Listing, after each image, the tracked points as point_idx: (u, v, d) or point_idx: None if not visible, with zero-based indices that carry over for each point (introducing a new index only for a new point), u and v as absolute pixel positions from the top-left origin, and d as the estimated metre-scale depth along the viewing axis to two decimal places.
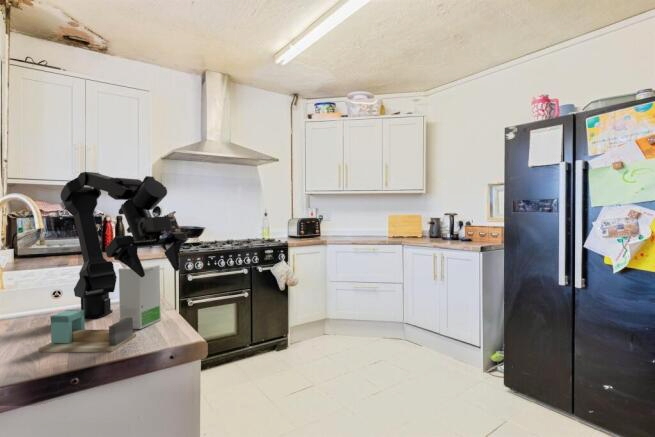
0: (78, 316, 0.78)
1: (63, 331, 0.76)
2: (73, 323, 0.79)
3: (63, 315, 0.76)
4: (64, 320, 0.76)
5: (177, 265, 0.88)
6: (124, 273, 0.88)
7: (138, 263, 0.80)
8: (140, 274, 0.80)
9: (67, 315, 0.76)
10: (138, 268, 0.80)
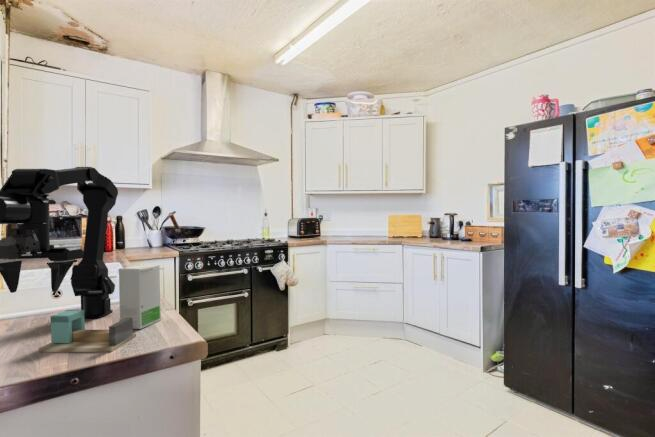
0: (78, 316, 0.78)
1: (63, 331, 0.76)
2: (73, 323, 0.79)
3: (63, 315, 0.76)
4: (64, 320, 0.76)
5: (52, 287, 0.77)
6: (124, 273, 0.88)
7: (5, 280, 0.76)
8: None
9: (67, 315, 0.76)
10: None
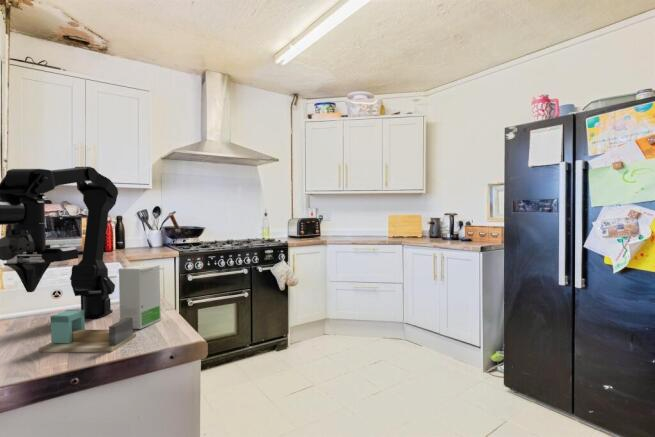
0: (78, 316, 0.78)
1: (63, 331, 0.76)
2: (73, 323, 0.79)
3: (63, 315, 0.76)
4: (64, 320, 0.76)
5: (28, 287, 0.77)
6: (124, 273, 0.88)
7: (22, 279, 0.77)
8: None
9: (67, 315, 0.76)
10: None
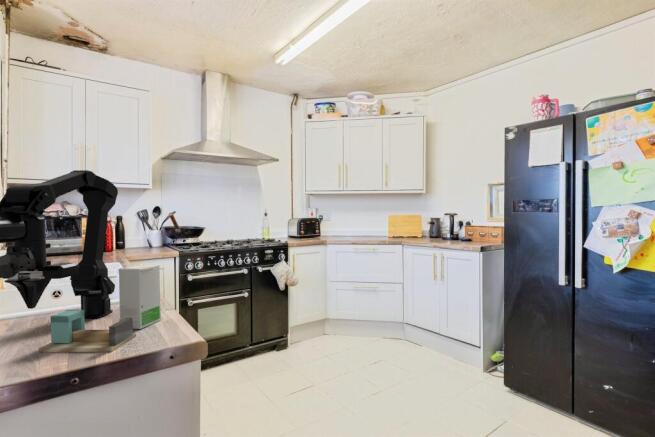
0: (78, 316, 0.78)
1: (63, 331, 0.76)
2: (73, 323, 0.79)
3: (63, 315, 0.76)
4: (64, 320, 0.76)
5: (29, 304, 0.77)
6: (124, 273, 0.88)
7: (23, 296, 0.77)
8: None
9: (67, 315, 0.76)
10: None
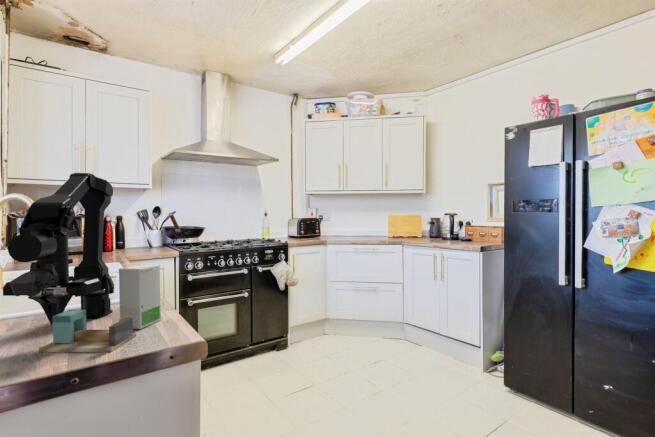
0: (80, 316, 0.78)
1: (65, 331, 0.76)
2: (75, 323, 0.79)
3: (65, 315, 0.76)
4: (66, 320, 0.75)
5: (52, 320, 0.77)
6: (124, 273, 0.88)
7: (46, 312, 0.77)
8: None
9: (69, 315, 0.76)
10: None
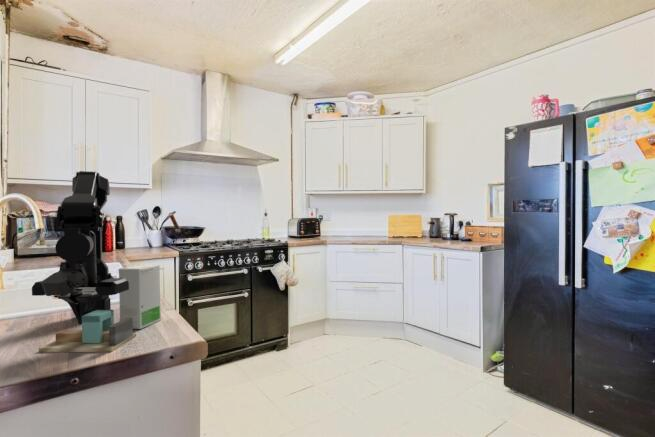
0: (108, 316, 0.78)
1: (95, 331, 0.75)
2: (103, 323, 0.79)
3: (94, 315, 0.76)
4: (95, 320, 0.75)
5: (81, 320, 0.77)
6: (124, 273, 0.88)
7: (75, 312, 0.77)
8: None
9: (98, 315, 0.76)
10: None
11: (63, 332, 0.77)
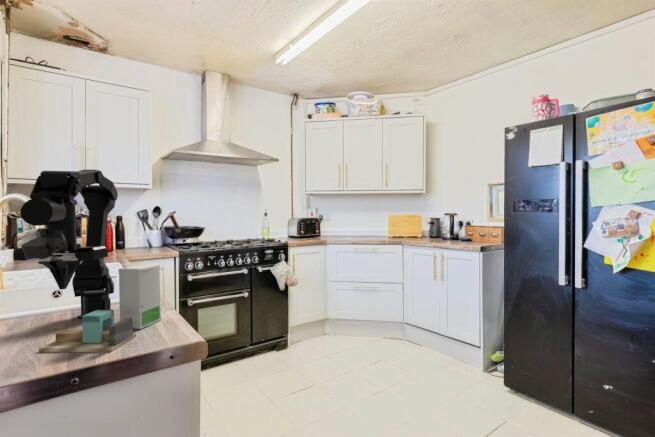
0: (108, 316, 0.78)
1: (95, 331, 0.75)
2: (103, 323, 0.79)
3: (94, 315, 0.76)
4: (95, 320, 0.75)
5: (61, 285, 0.81)
6: (124, 273, 0.88)
7: (55, 277, 0.80)
8: None
9: (98, 315, 0.76)
10: None
11: (63, 332, 0.77)
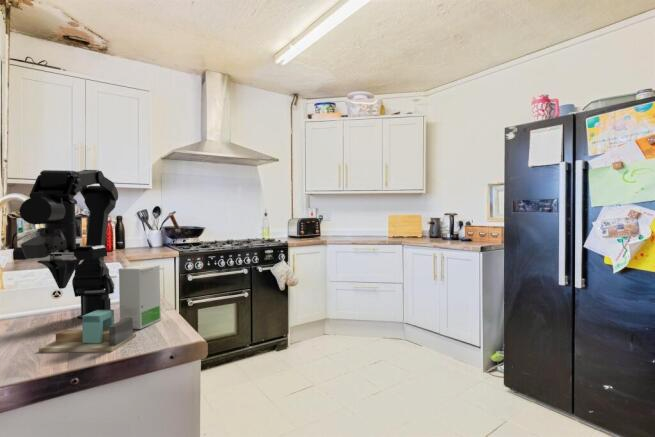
0: (108, 316, 0.78)
1: (95, 331, 0.75)
2: (103, 323, 0.79)
3: (94, 315, 0.76)
4: (95, 320, 0.75)
5: (60, 284, 0.81)
6: (124, 273, 0.88)
7: (54, 276, 0.80)
8: None
9: (98, 315, 0.76)
10: None
11: (63, 332, 0.77)
